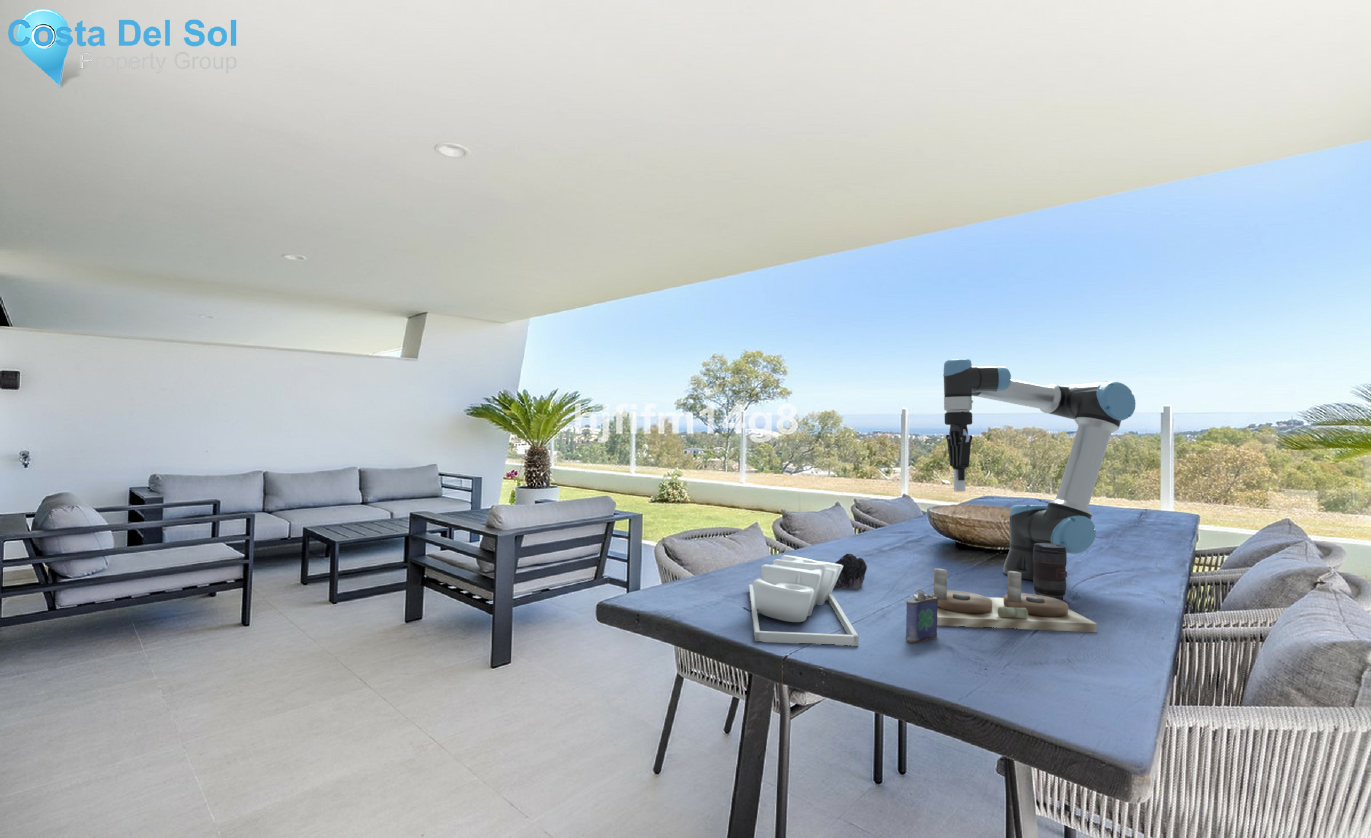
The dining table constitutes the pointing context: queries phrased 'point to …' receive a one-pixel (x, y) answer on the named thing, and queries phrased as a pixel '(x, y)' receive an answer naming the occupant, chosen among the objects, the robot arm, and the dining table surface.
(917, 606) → the flask
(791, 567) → the wavy white extrusion
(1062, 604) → the dial
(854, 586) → the crystal cluster
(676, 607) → the dining table surface
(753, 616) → the white rectangular frame
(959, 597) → the dial
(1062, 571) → the camera lens
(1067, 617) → the base
